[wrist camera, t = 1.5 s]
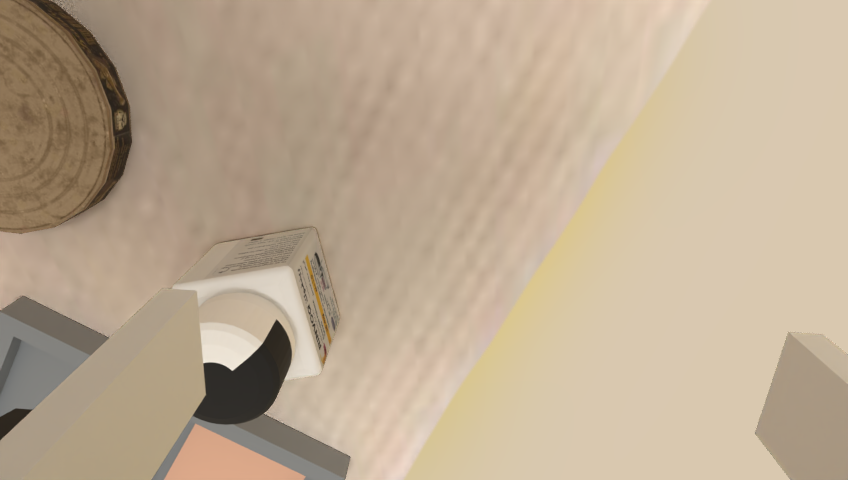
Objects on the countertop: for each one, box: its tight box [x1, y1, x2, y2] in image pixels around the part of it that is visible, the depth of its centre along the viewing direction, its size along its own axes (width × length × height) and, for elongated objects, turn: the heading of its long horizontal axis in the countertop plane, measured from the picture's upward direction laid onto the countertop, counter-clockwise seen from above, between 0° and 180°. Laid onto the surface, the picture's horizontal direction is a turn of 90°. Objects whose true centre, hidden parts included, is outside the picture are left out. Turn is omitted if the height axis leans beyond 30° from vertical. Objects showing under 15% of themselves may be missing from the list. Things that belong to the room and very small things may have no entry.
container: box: [171, 227, 340, 425], centre depth 36 cm, size 8×8×13 cm
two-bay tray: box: [0, 296, 350, 480], centre depth 47 cm, size 28×15×2 cm, turn 59°
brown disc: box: [0, 0, 132, 234], centre depth 37 cm, size 16×16×3 cm
